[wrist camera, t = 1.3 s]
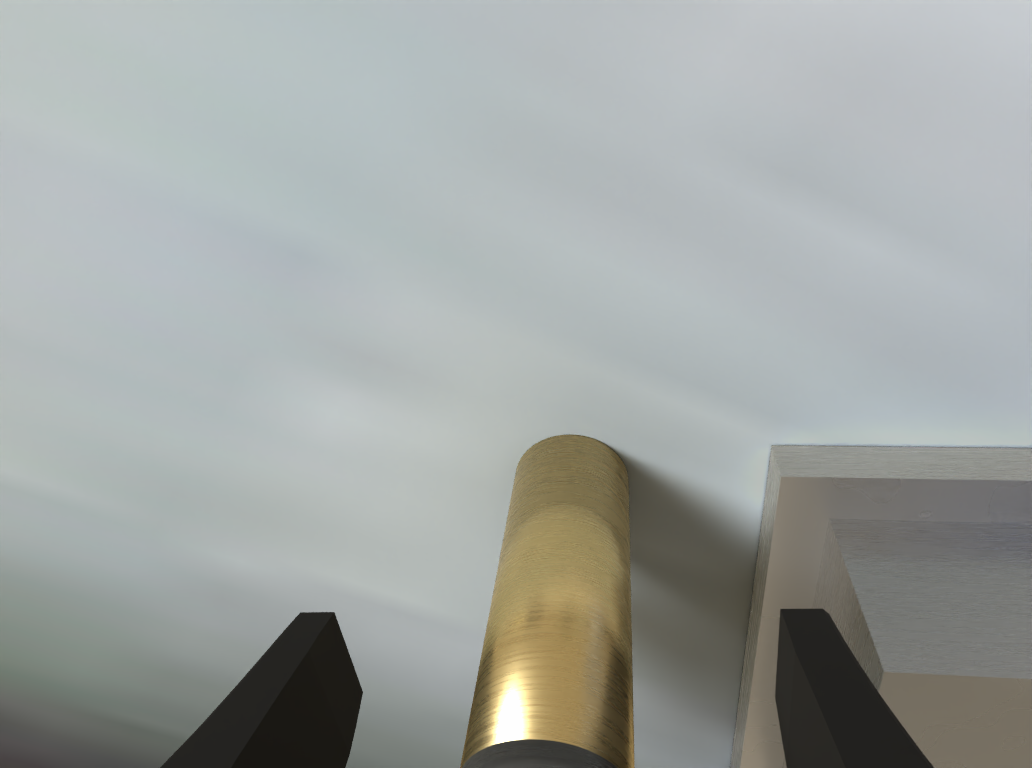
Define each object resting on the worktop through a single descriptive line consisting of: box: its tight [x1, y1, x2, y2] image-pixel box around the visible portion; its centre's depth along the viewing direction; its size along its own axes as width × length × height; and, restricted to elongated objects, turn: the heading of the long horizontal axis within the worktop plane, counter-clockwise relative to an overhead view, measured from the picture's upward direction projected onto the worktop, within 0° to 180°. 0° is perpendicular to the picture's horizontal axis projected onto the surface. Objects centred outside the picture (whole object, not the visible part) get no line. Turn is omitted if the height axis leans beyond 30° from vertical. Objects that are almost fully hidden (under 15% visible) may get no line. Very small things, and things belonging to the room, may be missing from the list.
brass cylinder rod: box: [460, 435, 634, 768], centre depth 13 cm, size 2×2×8 cm
